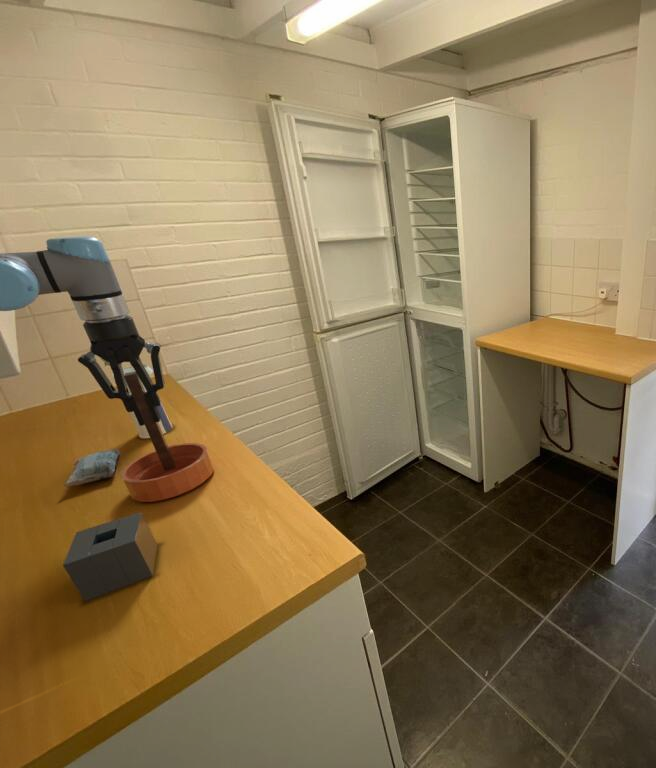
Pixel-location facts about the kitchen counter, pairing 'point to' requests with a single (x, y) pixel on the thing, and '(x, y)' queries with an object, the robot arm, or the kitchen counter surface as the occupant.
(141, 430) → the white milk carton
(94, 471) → the packaged food
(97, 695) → the kitchen counter surface
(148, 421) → the wooden stick
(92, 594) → the stick holder
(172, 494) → the bowl
